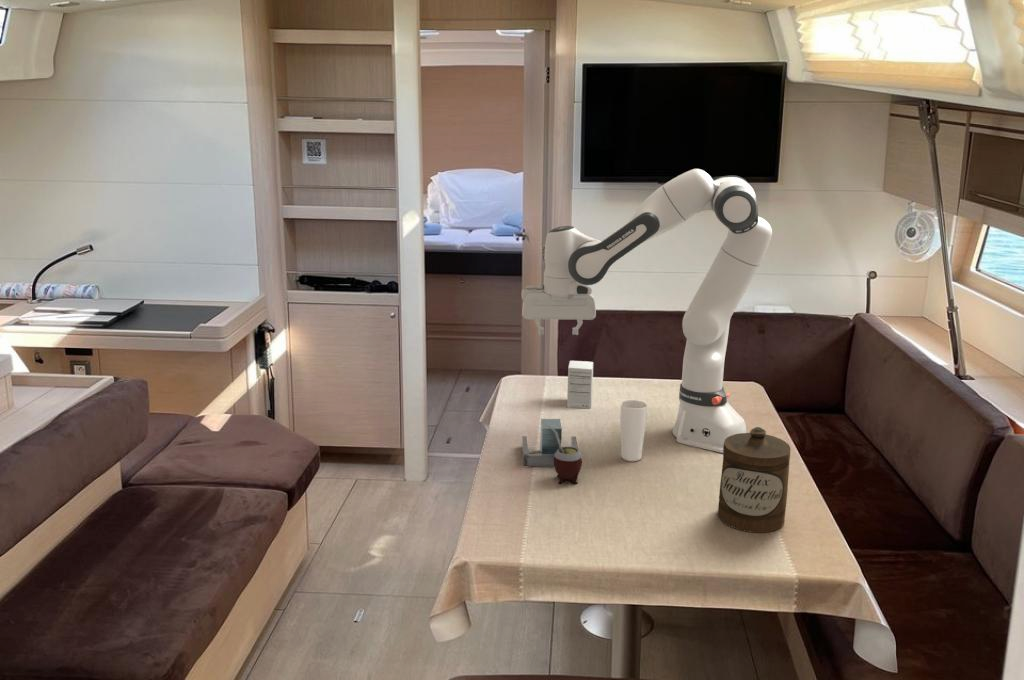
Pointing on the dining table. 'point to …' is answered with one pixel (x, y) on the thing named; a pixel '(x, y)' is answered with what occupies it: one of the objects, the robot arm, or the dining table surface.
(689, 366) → the robot arm
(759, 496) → the wooden container
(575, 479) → the mate gourd
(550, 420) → the block
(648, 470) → the dining table surface
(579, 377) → the supplement box
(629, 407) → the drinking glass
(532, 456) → the coupler bay
